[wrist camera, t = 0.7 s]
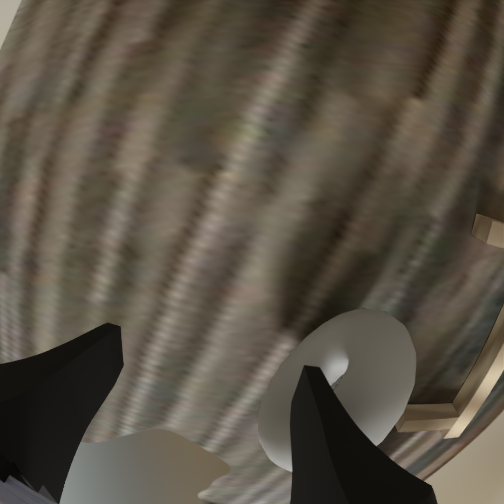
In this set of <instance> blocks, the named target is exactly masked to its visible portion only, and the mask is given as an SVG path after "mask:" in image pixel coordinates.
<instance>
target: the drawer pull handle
mask: <svg viewBox="0 0 504 504" xmlns="http://www.w3.org/2000/svg"><path fill="white" fill-rule="evenodd" d="M471 235H472V236H474V237H476V238H478V239H479V240H481V241H483V242H485V243H486V244H490V245H494V246H497V247H501V248H504V223H503V222H500V221H498V220H495V219H492V218H489V217H486V216H483V215H480V214H477V213H476V217H475V221H474V225H473V229H472V233H471ZM503 370H504V304H503V306H502V309H501V311H500V314H499V316H498V318H497V320H496V323H495V325H494V327H493V329H492V331H491V334H490V336H489V338H488V340H487V342H486V344H485V346H484V348H483V350H482V352H481V354H480V356H479V358H478V359H477V361H476V363H475V365H474V367H473V369H472V370H471V372H470V374H469V376H468V377H467V379H466V381H465V383H464V384H463V386H462V388H461V389H460V391H459V393H458V394H457V396H456V397H455V399H454V401H453V402H452V403H444V404H412V405H406V408H405V410H404V413H403V414H402V416H401V417H400V418H399V420H398V421H397V423H396V424H395V425H396V428H397V431H398V432H415V431H430V430H440V432H441V434H442V437H443V439H445V438H453V437H459V435H460V434H461V433H462V432H463V430H464V429H465V428H466V426H467V425H468V424H469V422H470V421H471V419H472V418H473V417H474V415H475V414H476V412H477V411H478V410H479V408H480V407H481V405H482V404H483V402H484V401H485V399H486V398H487V396H488V395H489V393H490V391H491V390H492V388H493V387H494V385H495V383H496V382H497V380H498V378H499V377H500V375H501V373H502V372H503Z"/></svg>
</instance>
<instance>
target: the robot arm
mask: <svg viewBox="0 0 504 504" xmlns="http://www.w3.org/2000/svg"><path fill="white" fill-rule="evenodd" d="M123 366H124V363H123V352H122V340H121V326H118V325H114V324H111V323H105V324H103V325H101V326H99V327H97V328H95V329H93V330H91V331H89V332H87V333H85V334H83V335H81V336H79V337H77V338H75V339H73V340H71V341H69V342H67V343H65V344H62V345H60V346H58V347H55V348H53V349H51V350H49V351H46V352H44V353H41V354H38V355H35V356H32V357H29V358H25V359H22V360H17V361H13V362H8V363H4V364H0V504H59V503H60V498H61V495H62V491H63V488H64V484H65V481H66V478H67V475H68V472H69V469H70V466H71V463H72V461H73V458H74V456H75V453H76V451H77V449H78V446H79V444H80V442H81V440H82V437H83V435H84V433H85V431H86V429H87V427H88V425H89V424H90V422H91V420H92V419H93V417H94V416H95V414H96V413H97V411H98V410H99V408H100V407H101V405H102V403H103V402H104V400H105V399H106V397H107V396H108V394H109V393H110V391H111V390H112V388H113V387H114V385H115V383H116V381H117V379H118V377H119V375H120V372H121V370H122V368H123ZM290 439H291V456H292V489H291V501H290V504H437V500H436V496H435V493H434V491H433V488H432V486H431V485H429V484H427V483H426V482H424V481H422V480H421V479H419V478H417V477H415V476H414V475H412V474H410V473H409V472H407V471H406V470H405V469H403V468H402V467H400V466H399V465H398V464H396V463H395V462H394V461H393V460H391V459H390V458H389V457H388V456H387V455H385V454H384V453H383V452H382V451H381V450H380V449H379V448H378V447H377V446H376V445H374V444H373V443H372V442H371V440H370V439H369V438H368V437H367V436H366V435H365V434H364V433H363V432H362V431H361V429H360V428H359V427H358V426H357V425H356V423H355V422H354V421H353V419H352V418H351V417H350V415H349V414H348V412H347V411H346V410H345V408H344V407H343V405H342V404H341V402H340V400H339V399H338V397H337V396H336V394H335V393H334V391H333V389H332V387H331V386H330V384H329V382H328V381H327V379H326V377H325V375H324V373H323V372H322V370H321V368H320V367H316V366H308V365H304V366H303V369H302V372H301V375H300V378H299V381H298V384H297V387H296V390H295V393H294V395H293V398H292V401H291V412H290Z"/></svg>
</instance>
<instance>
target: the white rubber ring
mask: <svg viewBox="0 0 504 504" xmlns="http://www.w3.org/2000/svg"><path fill="white" fill-rule="evenodd" d="M304 365H308V366H316V367H320V368H321V370H322V372H323V373H324V375H325V377H326V379H327V381H328V382H329V384H330V386H331V385H332V384H333V383H334V382H335V381H336V380H337V379H338V378H339V377H340V376H341V375H343V374H344V373H345V374H344V376H343V378H342V380H341V381H340V383H339V384H338V386H337V387H336V388H335V390H334V393H335V394H336V396H337V397H338V399H339V400H340V402H341V404H342V405H343V407H344V408H345V410H346V411H347V412H348V414H349V415H350V417H351V418H352V419H353V421H354V422H355V423H356V425H357V426H358V427H359V428H360V429H361V431H362V432H363V433H364V434H365V435H366V436H367V437H368V438H369V439H370V440H371V442H372V443H373V444H374V445H376V446H377V445H378V444H380V443H381V442H382V441H383V440H384V439H385V437H386V436H387V435H388V433H389V432H390V431H391V429H392V428H393V427H394V425H395V424H396V423H397V421H398V420H399V418H400V417H401V416H402V414H403V413H404V410H405V408H406V405H407V403H408V400H409V398H410V395H411V392H412V390H413V387H414V384H415V374H416V351H415V348H414V345H413V342H412V340H411V337H410V334H409V332H408V330H407V329H406V327H405V326H404V325H403V324H402V323H400V322H399V321H398V320H397V319H395V318H394V317H393V316H391V315H390V314H388V313H387V312H386V311H381V310H376V309H366V308H361V309H356V310H352V311H349V312H345V313H342V314H339V315H337V316H336V317H334V318H332V319H330V320H329V321H327V322H325V323H323V324H322V325H321V326H319V327H318V328H317V329H316V330H314V331H313V332H312V333H311V334H309V335H308V336H307V337H306V338H305V339H304V340H303V341H302V342H301V343H300V344H299V345H298V346H297V347H296V348H295V349H294V350H293V351H292V352H291V353H290V354H289V356H288V357H287V358H286V359H285V361H284V362H283V363H282V364H281V366H280V367H279V369H278V371H277V372H276V374H275V375H274V377H273V378H272V380H271V382H270V384H269V386H268V388H267V391H266V393H265V395H264V397H263V399H262V402H261V406H260V410H259V414H258V435H259V441H260V443H261V445H262V447H263V448H264V450H265V452H266V454H267V455H268V457H269V459H270V460H271V461H273V462H274V463H275V464H276V465H278V466H280V467H282V468H284V469H286V470H288V471H291V472H292V456H291V439H290V412H291V401H292V398H293V395H294V393H295V390H296V387H297V384H298V381H299V378H300V375H301V372H302V369H303V366H304Z"/></svg>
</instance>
